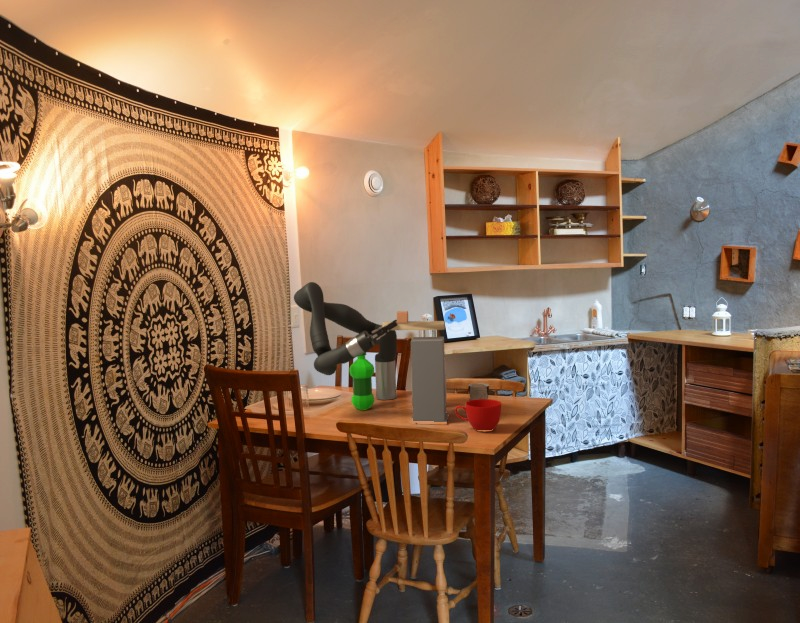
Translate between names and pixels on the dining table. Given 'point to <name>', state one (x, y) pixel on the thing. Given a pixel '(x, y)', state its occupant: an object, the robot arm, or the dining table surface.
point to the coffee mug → (479, 383)
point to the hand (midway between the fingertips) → (396, 322)
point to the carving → (478, 392)
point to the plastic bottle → (362, 383)
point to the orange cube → (402, 316)
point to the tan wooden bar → (418, 325)
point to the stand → (428, 379)
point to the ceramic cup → (482, 413)
